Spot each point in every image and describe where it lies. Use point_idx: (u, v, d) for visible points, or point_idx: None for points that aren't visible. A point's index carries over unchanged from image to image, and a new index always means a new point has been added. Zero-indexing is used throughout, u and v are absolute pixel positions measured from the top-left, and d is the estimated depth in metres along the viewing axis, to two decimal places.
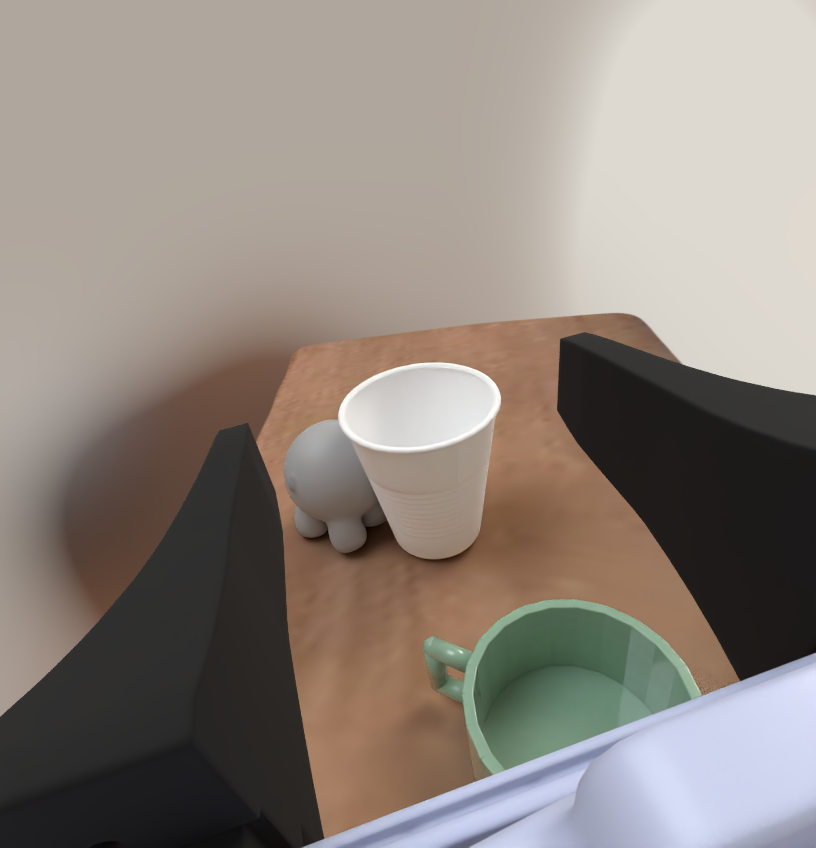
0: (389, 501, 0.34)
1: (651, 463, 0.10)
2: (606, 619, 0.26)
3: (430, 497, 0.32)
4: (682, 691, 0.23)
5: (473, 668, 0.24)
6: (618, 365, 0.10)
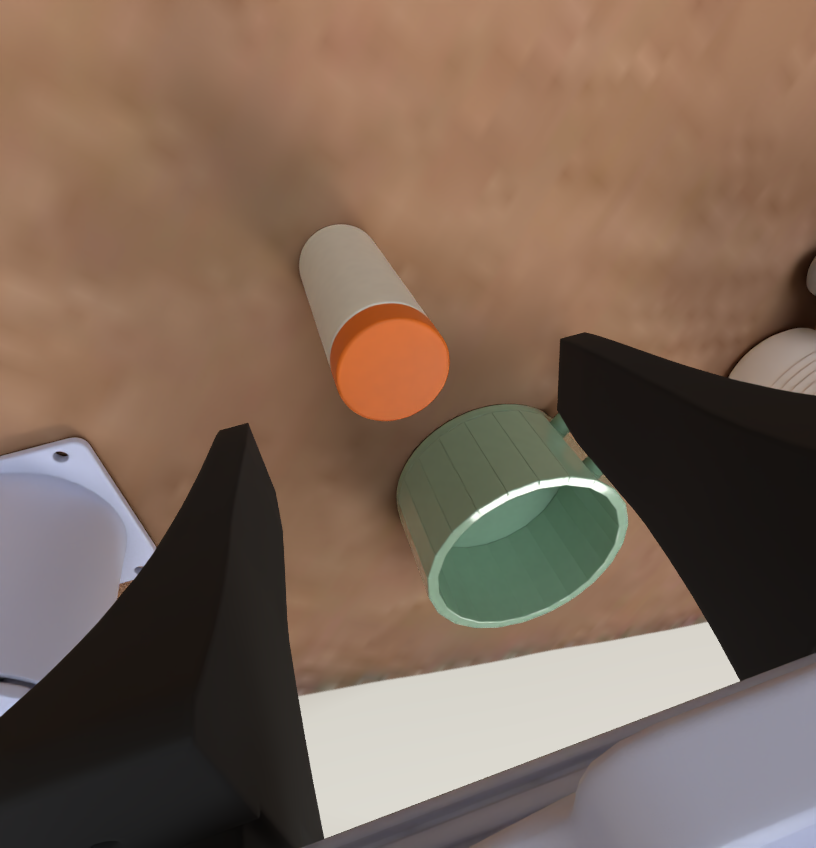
0: None
1: (651, 463, 0.10)
2: (582, 575, 0.27)
3: None
4: (507, 611, 0.27)
5: (589, 485, 0.22)
6: (618, 365, 0.10)
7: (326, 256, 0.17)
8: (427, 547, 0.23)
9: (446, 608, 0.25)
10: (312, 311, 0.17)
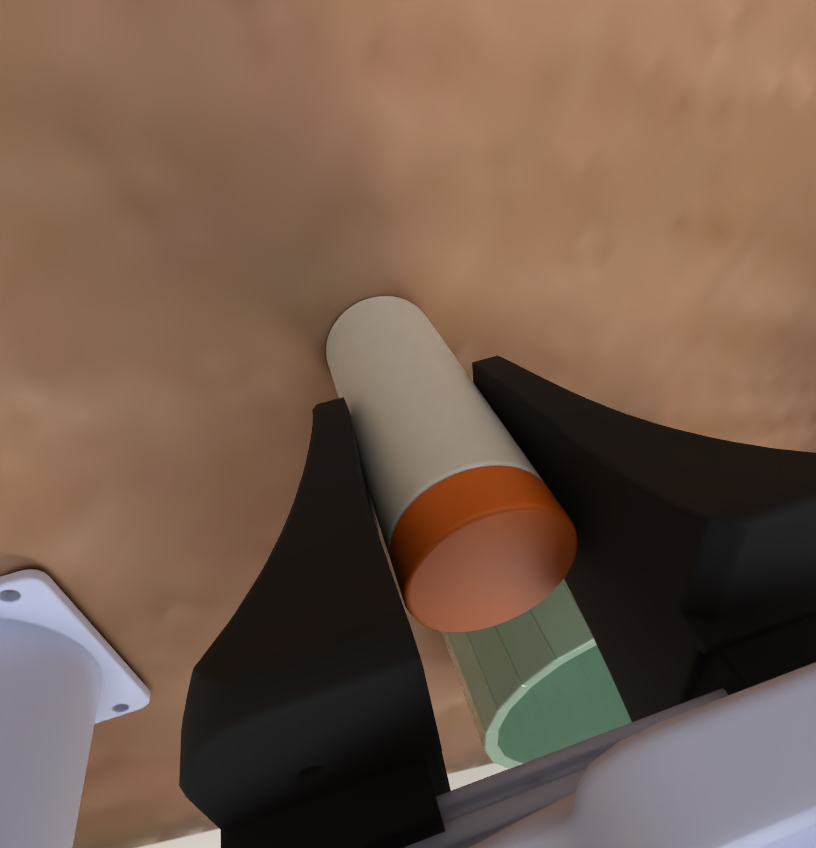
0: None
1: None
2: None
3: None
4: None
5: None
6: (515, 394, 0.10)
7: (371, 354, 0.12)
8: (485, 692, 0.18)
9: (504, 757, 0.20)
10: None
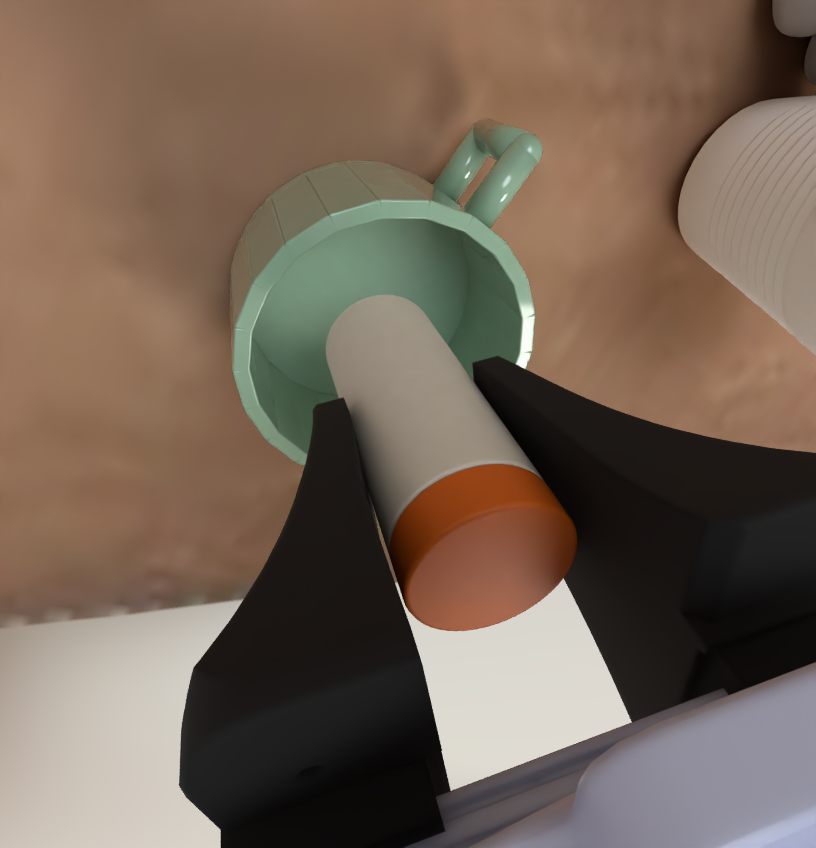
0: None
1: None
2: None
3: (787, 241, 0.17)
4: None
5: (463, 226, 0.15)
6: (515, 394, 0.10)
7: (370, 353, 0.12)
8: None
9: (277, 433, 0.17)
10: None
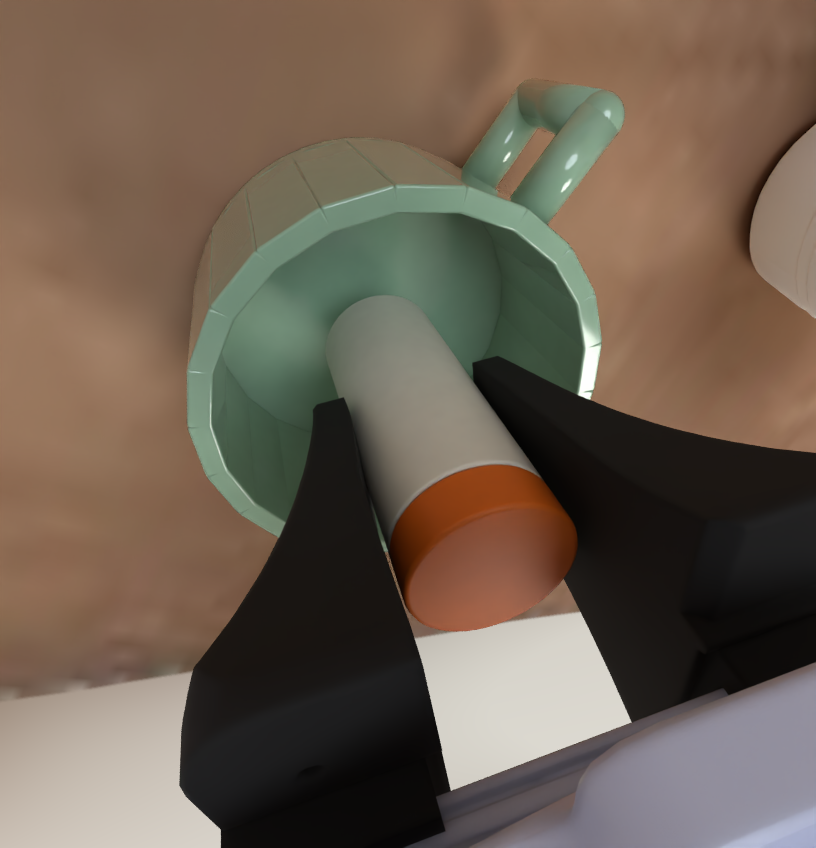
0: None
1: None
2: None
3: None
4: None
5: (513, 223, 0.11)
6: (515, 394, 0.10)
7: (370, 353, 0.12)
8: None
9: (253, 504, 0.13)
10: None
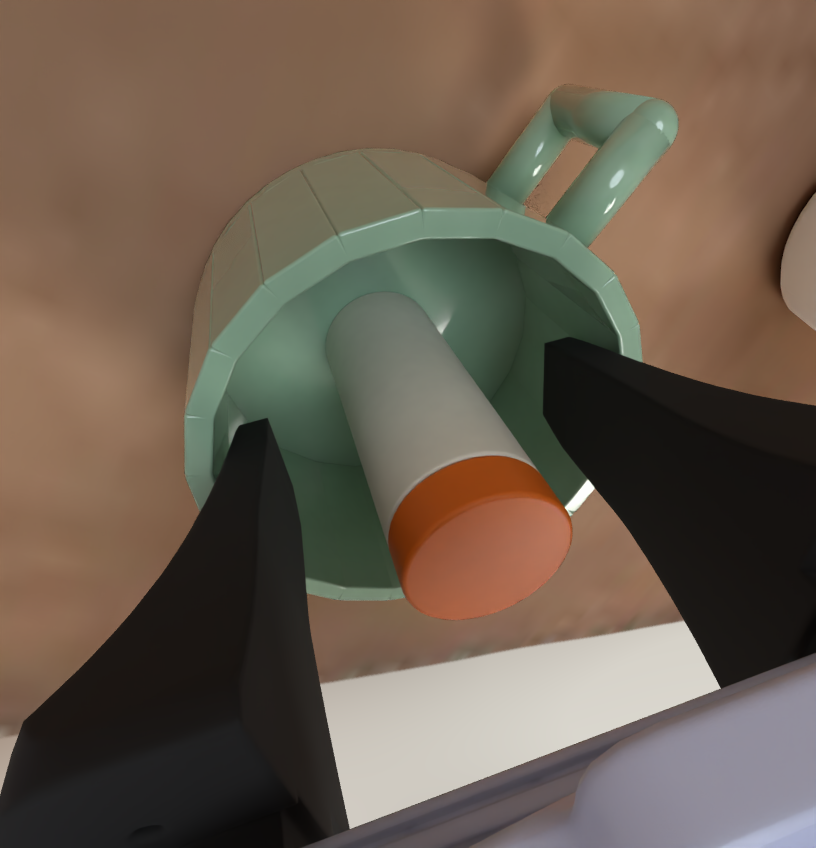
0: None
1: (632, 469, 0.10)
2: None
3: None
4: None
5: (553, 249, 0.09)
6: (599, 370, 0.10)
7: (369, 348, 0.12)
8: None
9: None
10: (350, 426, 0.12)
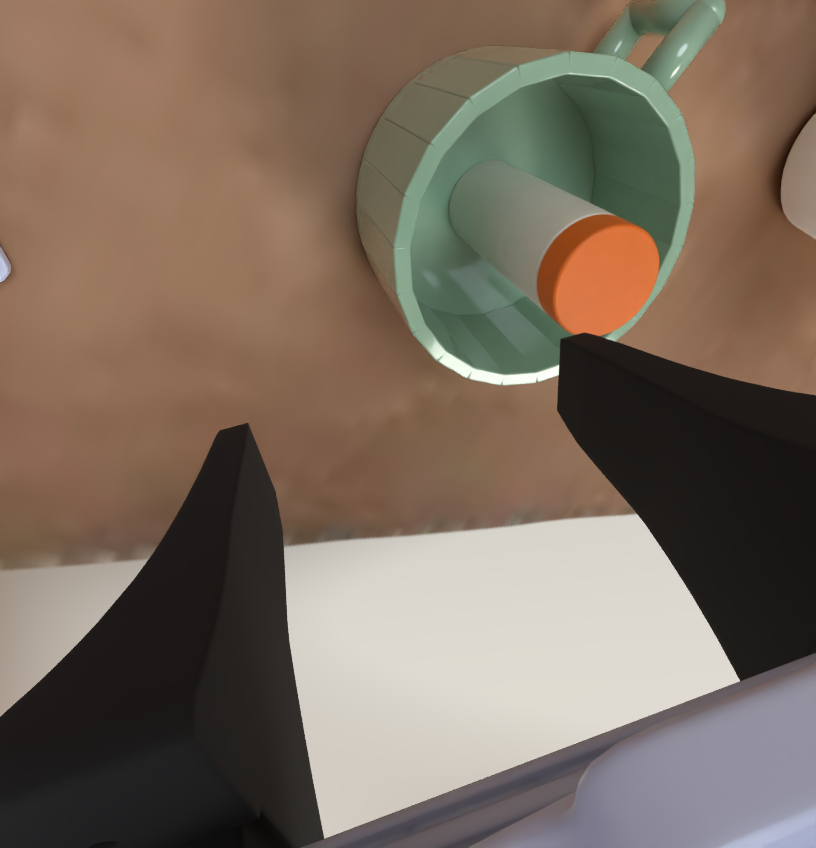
0: None
1: (651, 463, 0.10)
2: None
3: None
4: (512, 365, 0.19)
5: (644, 89, 0.14)
6: (618, 365, 0.10)
7: (499, 185, 0.17)
8: (393, 201, 0.15)
9: (424, 325, 0.17)
10: (486, 238, 0.17)
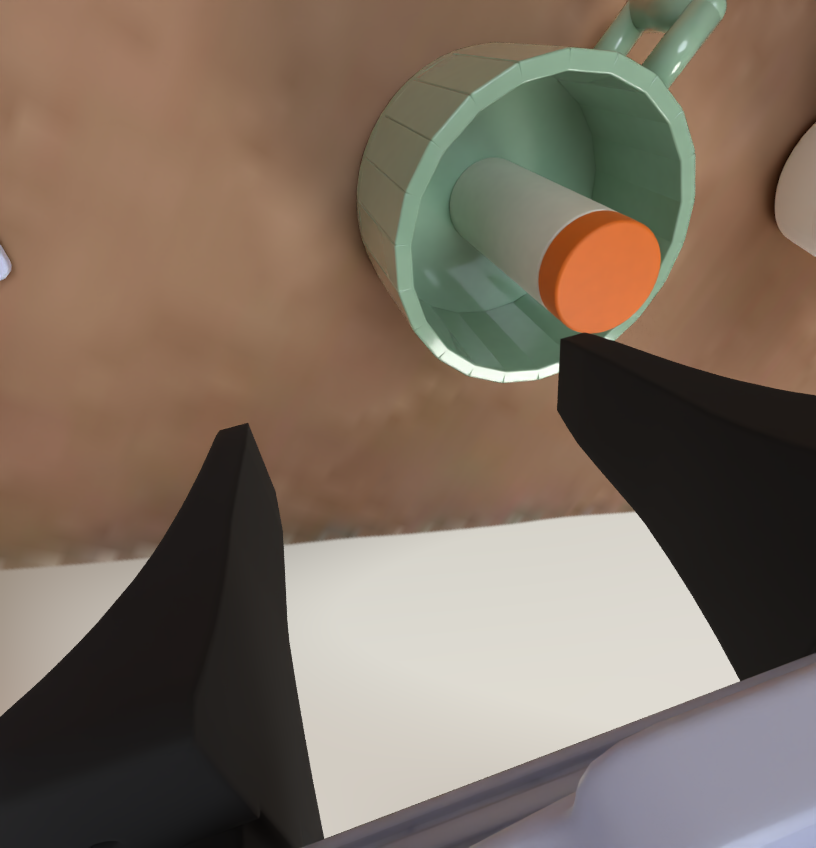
0: None
1: (651, 463, 0.10)
2: None
3: None
4: (514, 363, 0.19)
5: (645, 85, 0.14)
6: (618, 365, 0.10)
7: (500, 181, 0.17)
8: (394, 198, 0.15)
9: (425, 322, 0.17)
10: (487, 235, 0.17)
